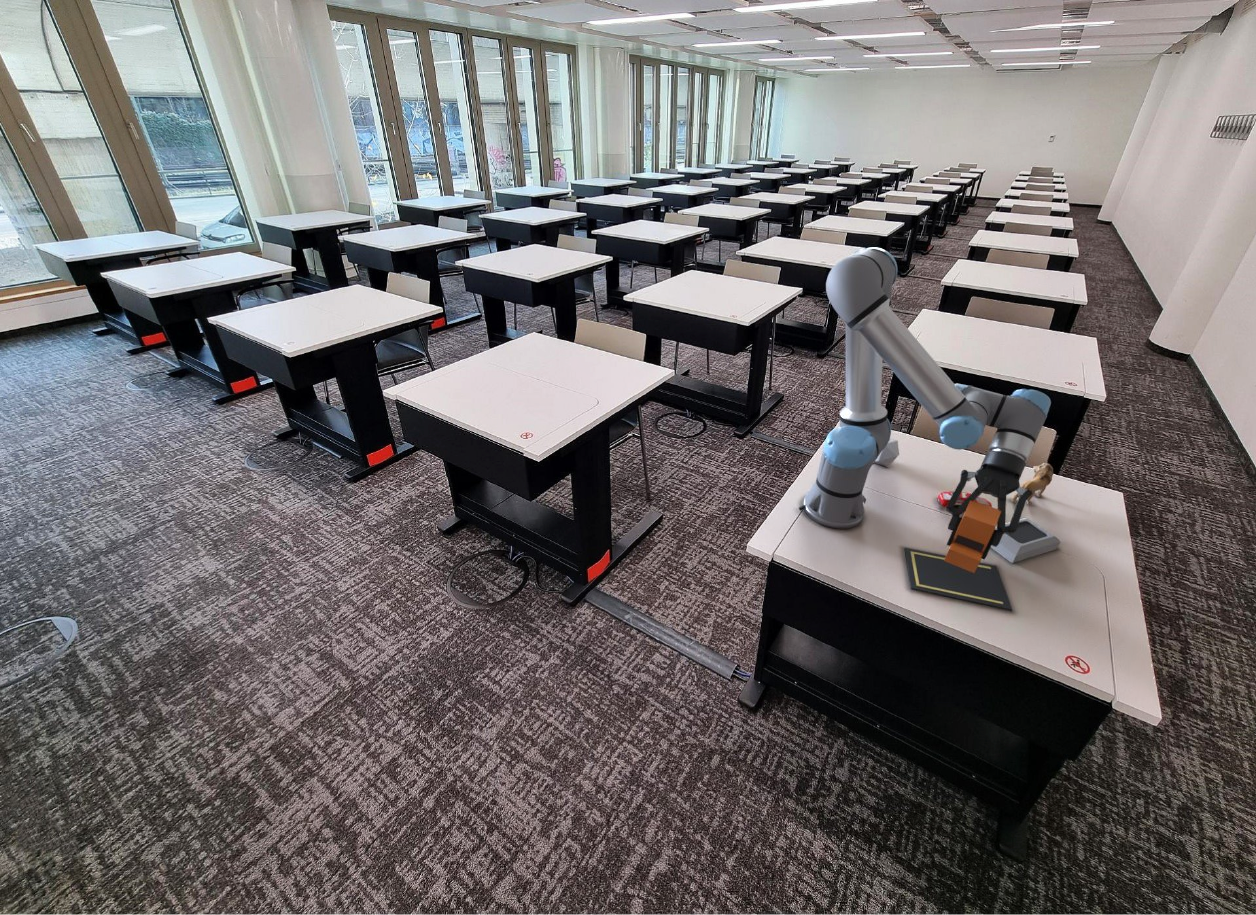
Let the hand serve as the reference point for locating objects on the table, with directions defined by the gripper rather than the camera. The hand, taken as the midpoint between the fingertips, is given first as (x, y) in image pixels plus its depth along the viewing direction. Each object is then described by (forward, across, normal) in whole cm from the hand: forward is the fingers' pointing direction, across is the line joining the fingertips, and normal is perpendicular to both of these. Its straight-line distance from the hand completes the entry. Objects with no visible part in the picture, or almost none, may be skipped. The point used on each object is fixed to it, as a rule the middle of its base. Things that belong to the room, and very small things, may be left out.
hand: (965, 551), depth 116 cm
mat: (+5, 0, -9) cm, 10 cm away
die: (-22, +29, -37) cm, 52 cm away
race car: (-16, +4, -31) cm, 35 cm away
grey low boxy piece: (-11, -10, -25) cm, 29 cm away
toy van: (+1, 0, -4) cm, 4 cm away
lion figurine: (-28, -9, -43) cm, 52 cm away
